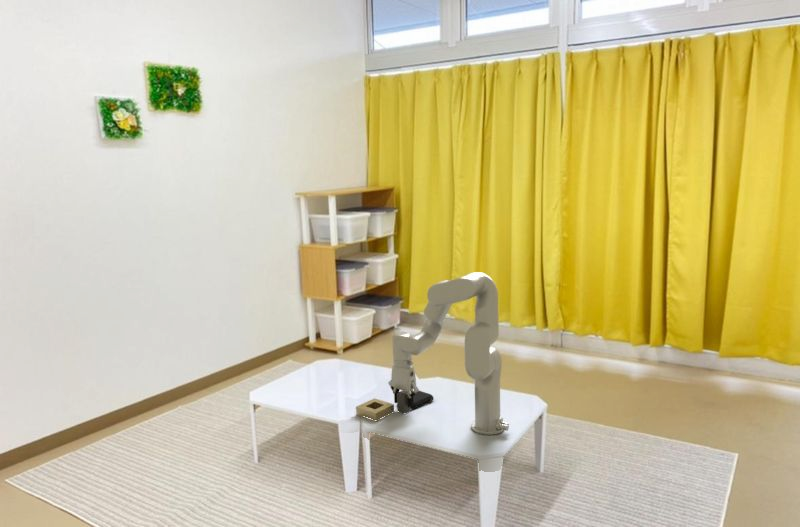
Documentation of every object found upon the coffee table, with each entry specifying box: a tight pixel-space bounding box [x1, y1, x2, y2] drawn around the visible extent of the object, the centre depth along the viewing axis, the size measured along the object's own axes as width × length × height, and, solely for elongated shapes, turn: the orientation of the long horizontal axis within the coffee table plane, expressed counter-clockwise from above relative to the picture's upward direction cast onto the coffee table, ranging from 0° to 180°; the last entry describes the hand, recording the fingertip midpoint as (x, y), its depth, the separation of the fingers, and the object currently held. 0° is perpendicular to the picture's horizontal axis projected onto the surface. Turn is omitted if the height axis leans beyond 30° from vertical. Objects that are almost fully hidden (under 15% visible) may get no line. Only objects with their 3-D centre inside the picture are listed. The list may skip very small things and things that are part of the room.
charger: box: [396, 390, 412, 414], centre depth 229 cm, size 4×4×8 cm
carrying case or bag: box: [411, 390, 435, 410], centre depth 238 cm, size 11×3×15 cm
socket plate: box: [355, 398, 395, 421], centre depth 228 cm, size 11×11×4 cm
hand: (403, 403), depth 230 cm, fingers open, 6 cm apart
